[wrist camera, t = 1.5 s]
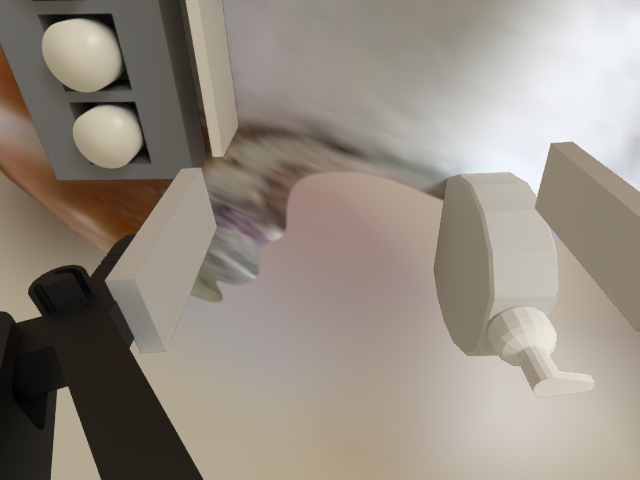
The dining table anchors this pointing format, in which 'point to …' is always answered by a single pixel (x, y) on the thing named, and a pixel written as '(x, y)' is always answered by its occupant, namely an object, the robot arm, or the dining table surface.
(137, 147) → the button
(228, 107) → the card
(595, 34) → the dining table surface
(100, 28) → the button
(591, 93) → the dining table surface
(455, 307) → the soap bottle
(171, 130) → the board
